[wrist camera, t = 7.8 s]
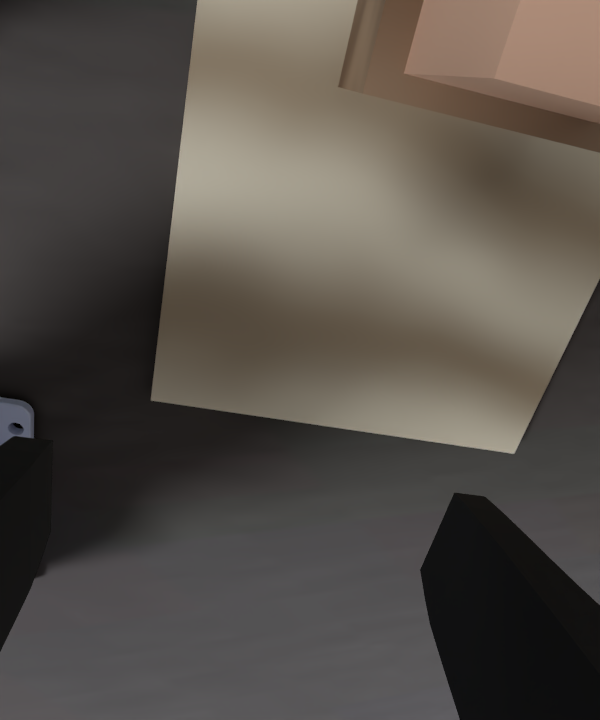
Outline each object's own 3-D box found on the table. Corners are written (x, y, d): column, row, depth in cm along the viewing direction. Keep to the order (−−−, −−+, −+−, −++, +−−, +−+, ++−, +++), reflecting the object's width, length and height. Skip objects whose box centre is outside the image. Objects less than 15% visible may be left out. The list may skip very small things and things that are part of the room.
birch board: (507, 444, 22) (514, 453, 22) (153, 391, 20) (150, 400, 20) (825, -219, 13) (848, -231, 13) (253, -450, 11) (253, -476, 11)
